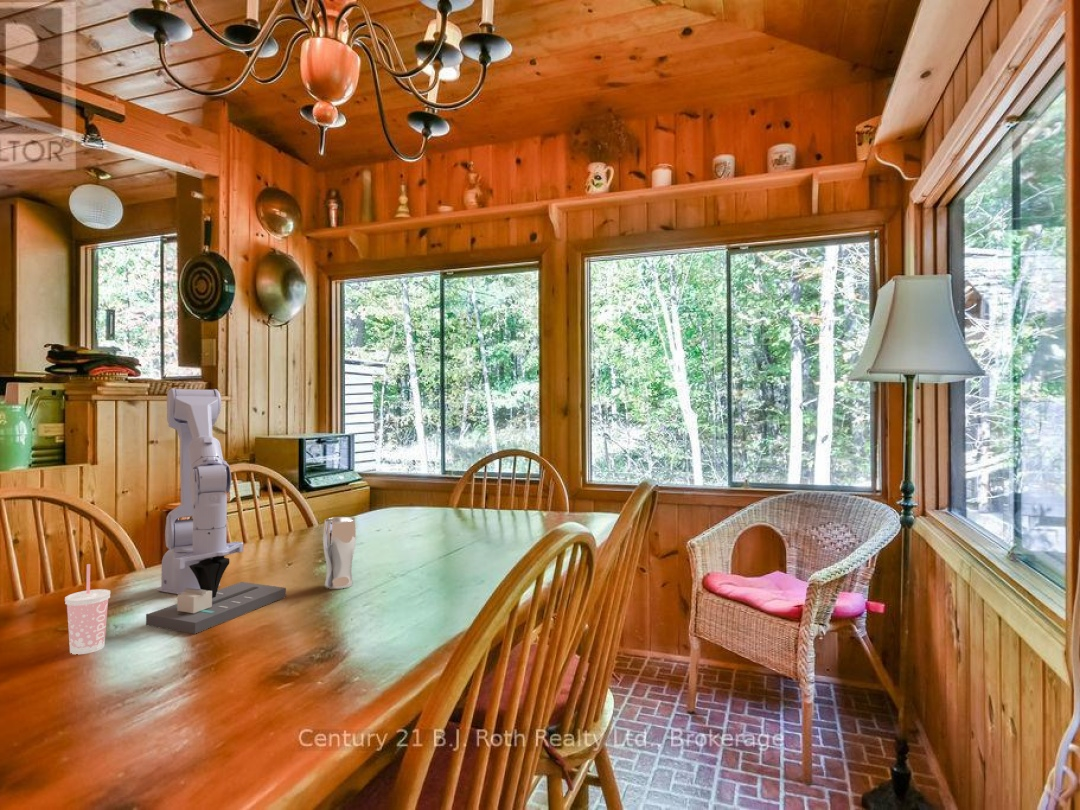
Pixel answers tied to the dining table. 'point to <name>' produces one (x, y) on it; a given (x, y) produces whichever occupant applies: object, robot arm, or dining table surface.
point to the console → (217, 608)
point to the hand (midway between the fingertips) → (209, 597)
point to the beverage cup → (87, 618)
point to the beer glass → (339, 551)
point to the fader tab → (194, 600)
